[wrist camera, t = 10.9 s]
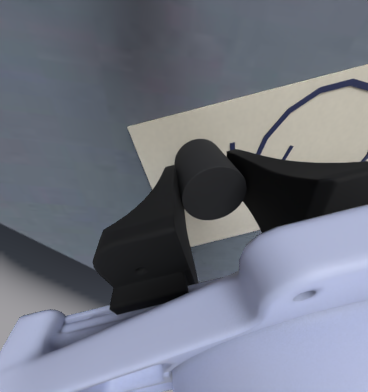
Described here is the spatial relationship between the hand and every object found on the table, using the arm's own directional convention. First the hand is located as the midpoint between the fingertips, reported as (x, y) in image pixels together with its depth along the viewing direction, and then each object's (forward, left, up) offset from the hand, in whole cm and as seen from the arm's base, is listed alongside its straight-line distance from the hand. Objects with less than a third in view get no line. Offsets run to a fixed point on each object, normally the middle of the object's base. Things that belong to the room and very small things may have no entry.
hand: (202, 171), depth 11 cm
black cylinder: (0, 0, -1) cm, 1 cm away
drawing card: (-4, -7, -3) cm, 8 cm away
